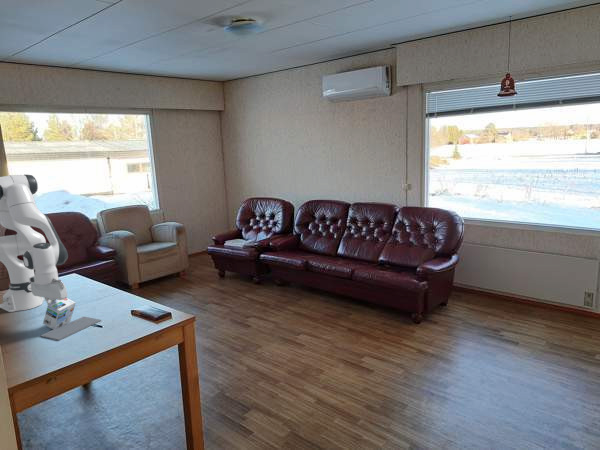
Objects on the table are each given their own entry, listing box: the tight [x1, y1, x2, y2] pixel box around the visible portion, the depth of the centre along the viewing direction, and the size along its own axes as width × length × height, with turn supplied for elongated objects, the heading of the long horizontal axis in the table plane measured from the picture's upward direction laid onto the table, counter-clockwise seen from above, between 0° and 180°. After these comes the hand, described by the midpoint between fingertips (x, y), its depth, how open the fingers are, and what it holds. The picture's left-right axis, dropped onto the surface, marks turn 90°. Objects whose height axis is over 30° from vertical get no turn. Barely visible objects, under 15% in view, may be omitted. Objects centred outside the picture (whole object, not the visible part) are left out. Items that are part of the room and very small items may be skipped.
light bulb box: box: [42, 297, 77, 330], centre depth 197 cm, size 11×7×11 cm, turn 168°
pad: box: [40, 316, 102, 342], centre depth 194 cm, size 12×22×1 cm, turn 156°
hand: (51, 306), depth 197 cm, fingers closed
